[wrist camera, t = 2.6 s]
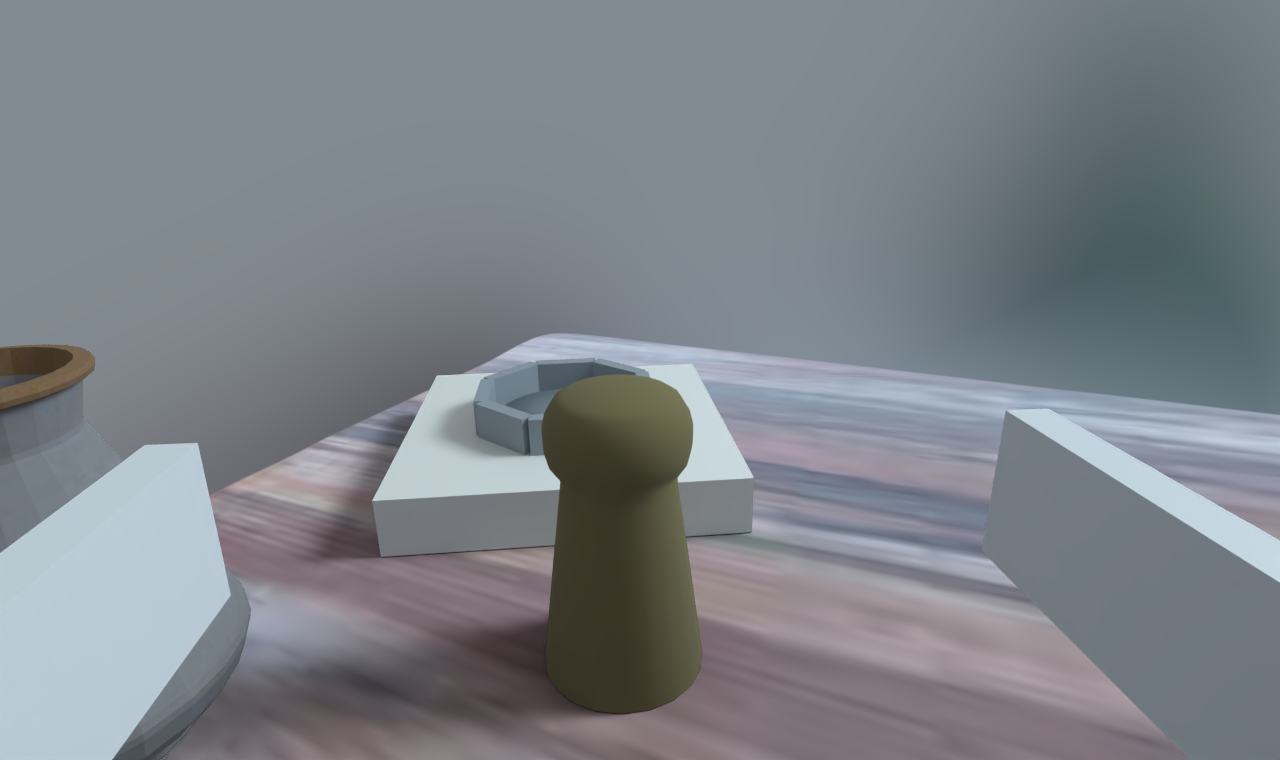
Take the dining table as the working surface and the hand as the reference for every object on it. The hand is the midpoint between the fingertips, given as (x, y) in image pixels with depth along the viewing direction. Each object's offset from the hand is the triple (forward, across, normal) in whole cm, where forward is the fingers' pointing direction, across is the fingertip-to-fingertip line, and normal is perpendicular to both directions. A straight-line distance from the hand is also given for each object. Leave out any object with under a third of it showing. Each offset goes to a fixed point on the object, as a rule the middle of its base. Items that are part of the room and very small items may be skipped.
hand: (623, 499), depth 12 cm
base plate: (+29, -1, -13) cm, 32 cm away
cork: (+12, +1, -13) cm, 18 cm away
